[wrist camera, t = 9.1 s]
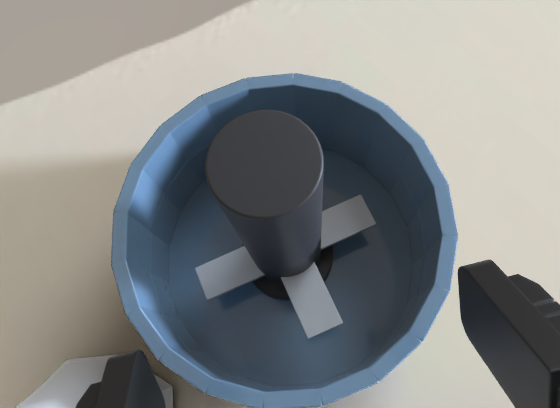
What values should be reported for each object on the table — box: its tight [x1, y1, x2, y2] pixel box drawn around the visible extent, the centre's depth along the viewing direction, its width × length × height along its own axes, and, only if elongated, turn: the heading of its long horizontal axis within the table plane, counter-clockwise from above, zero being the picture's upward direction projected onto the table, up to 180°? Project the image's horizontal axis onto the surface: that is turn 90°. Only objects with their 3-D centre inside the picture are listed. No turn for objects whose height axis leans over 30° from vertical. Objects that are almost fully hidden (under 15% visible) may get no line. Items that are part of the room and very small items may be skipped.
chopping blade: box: [195, 110, 376, 339], centre depth 19 cm, size 8×8×12 cm
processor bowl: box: [111, 73, 458, 408], centre depth 22 cm, size 13×13×6 cm
